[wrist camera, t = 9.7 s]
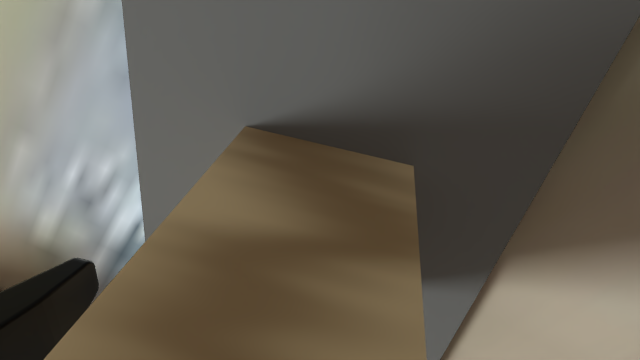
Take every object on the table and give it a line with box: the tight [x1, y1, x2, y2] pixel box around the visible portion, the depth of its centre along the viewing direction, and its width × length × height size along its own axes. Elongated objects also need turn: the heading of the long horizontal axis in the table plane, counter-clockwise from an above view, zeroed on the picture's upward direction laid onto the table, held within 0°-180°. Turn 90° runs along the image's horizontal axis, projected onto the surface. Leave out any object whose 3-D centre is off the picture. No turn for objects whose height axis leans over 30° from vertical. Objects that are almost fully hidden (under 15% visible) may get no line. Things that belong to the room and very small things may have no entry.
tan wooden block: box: [44, 126, 427, 360], centre depth 9 cm, size 5×5×8 cm
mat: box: [122, 0, 640, 360], centre depth 13 cm, size 12×16×1 cm
